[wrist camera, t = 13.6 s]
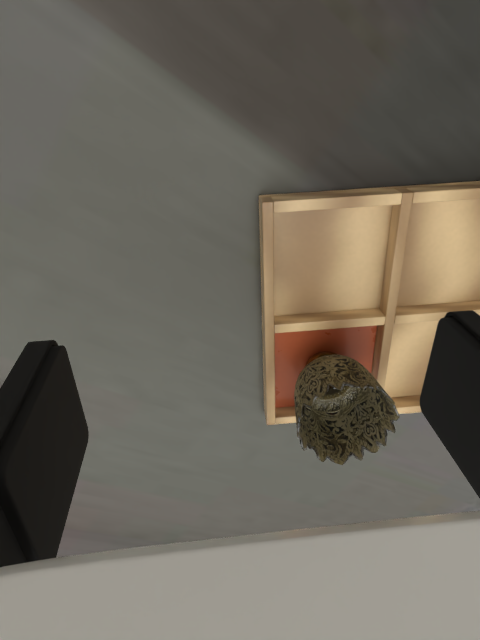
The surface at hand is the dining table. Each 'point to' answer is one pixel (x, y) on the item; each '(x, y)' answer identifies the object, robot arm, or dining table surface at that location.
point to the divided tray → (364, 282)
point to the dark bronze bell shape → (341, 408)
